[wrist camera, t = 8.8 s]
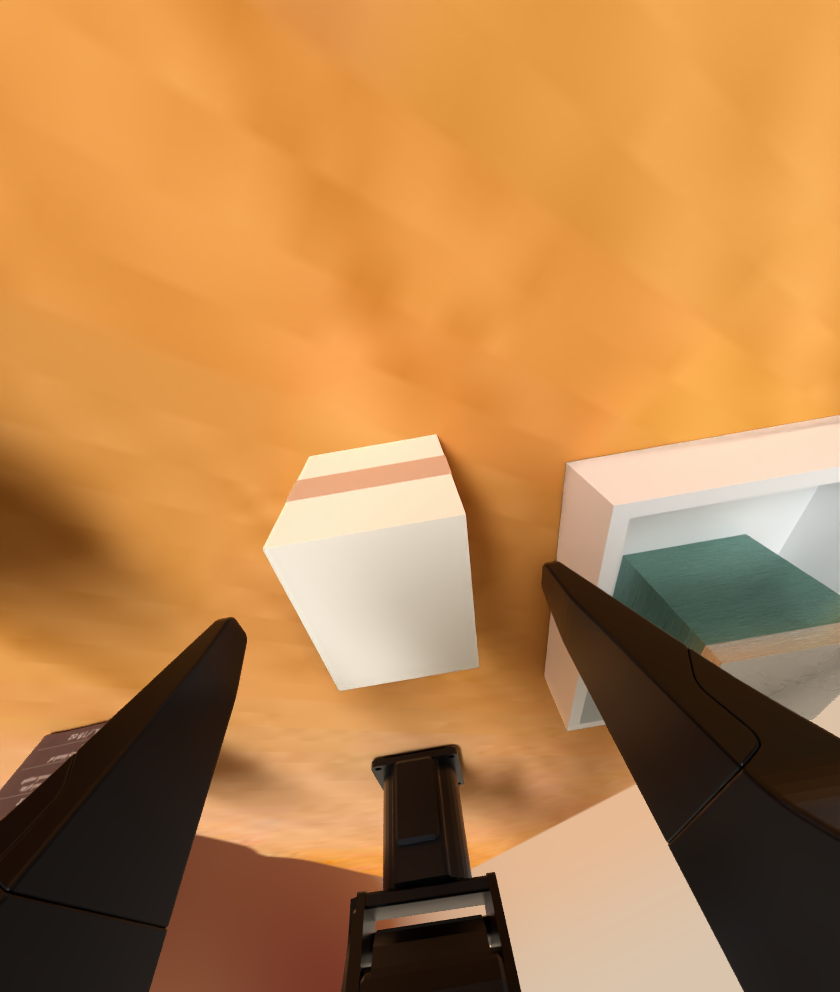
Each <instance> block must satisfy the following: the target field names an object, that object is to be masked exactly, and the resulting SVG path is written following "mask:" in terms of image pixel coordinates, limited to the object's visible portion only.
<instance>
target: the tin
mask: <svg viewBox="0 0 840 992" xmlns="http://www.w3.org/2000/svg"><path fill="white" fill-rule="evenodd" d="M613 597H614V598H615V599H617V600H618V601H620V602H621V603H623V604H624V605H626V606H627V607H629V608H630V609H632V610H633V611H635V612H636V613H638V614H639V615H641V616H642V617H644V618H645V619H647V620H648V621H650V622H651V623H653V624H654V625H656V626H657V627H659V628H660V629H662V630H664V631H665V632H667V633H668V634H670V635H671V636H673V637H674V638H676V639H677V640H679V641H680V642H682V643H683V644H685V645H686V646H687V648H691V649H692V650H694V651H695V652H697V653H698V654H700V655H701V656H703V657H705V658H706V659H708V660H709V661H711V662H712V663H714V664H715V665H717V666H718V667H720V668H722V669H723V670H725V671H726V672H728V673H729V674H731V675H733V676H734V677H736V678H737V679H739V680H741V681H742V682H744V683H746V684H747V685H749V686H751V687H752V688H754V689H756V690H757V691H759V692H761V693H763V694H764V695H766V696H768V697H769V698H771V699H773V700H774V701H776V702H778V703H780V704H781V705H783V706H785V707H787V708H788V709H790V710H792V711H794V712H795V713H797V714H799V715H800V716H802V717H804V718H806V719H807V720H812V719H814V718H815V717H816V716H817V715H818V714H819V713H820V712H822V711H823V710H824V709H825V708H826V707H827V706H828V705H829V704H830V703H831V702H832V701H833V700H834V699H835V698H836V697H837V696H838V695H840V595H839V594H838V593H836V592H835V591H833V590H831V589H830V588H828V587H827V586H825V585H824V584H822V583H821V582H819V581H818V580H816V579H814V578H813V577H811V576H810V575H808V574H807V573H805V572H804V571H802V570H801V569H799V568H798V567H796V566H794V565H793V564H791V563H790V562H788V561H787V560H785V559H784V558H782V557H781V556H779V555H778V554H776V553H774V552H773V551H771V550H770V549H768V548H767V547H765V546H764V545H762V544H761V543H759V542H757V541H756V540H754V539H753V538H751V537H750V536H748V535H747V534H743V535H737V536H732V537H726V538H720V539H714V540H709V541H703V542H697V543H691V544H685V545H680V546H674V547H668V548H662V549H657V550H651V551H645V552H639V553H634V554H628V555H623V557H622V561H621V565H620V569H619V573H618V577H617V581H616V585H615V589H614V593H613Z"/></svg>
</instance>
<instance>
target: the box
mask: <svg viewBox="0 0 840 992" xmlns="http://www.w3.org/2000/svg"><path fill="white" fill-rule="evenodd" d="M106 723H107V722H105V723H101V724H97V725H92V726H88V727H84V728H80V729H75V730H71V731H66V732H61V733H55V734H49V735H46V736H45V737H44V738H43V739H42V741H41V742H40V743H39V744H38V745H37V746H36V748H35V749H34V750H33V751H32V753H31V754H30V755H29V756H28V757H27V758H26V760H25V761H24V762H23V764H22V765H21V766H20V767H19V768H18V769H17V771H16V772H15V773H14V774H13V775H12V777H11V778H10V779H9V780H8V781H7V783H6V784H5V785H4V786H3V788H2V789H1V790H0V820H1V819H2V818H3V817H5V816H6V815H7V814H8V813H9V812H10V811H11V810H12V809H14V808H15V807H16V806H17V805H18V804H19V803H20V802H22V801H23V800H24V799H25V798H26V797H27V796H28V795H29V794H30V793H32V792H33V791H34V790H35V789H36V788H37V787H38V786H39V785H40V784H41V783H42V782H44V781H45V780H46V779H47V778H48V777H49V776H50V775H51V774H52V773H53V772H54V771H56V770H57V769H58V768H59V767H60V766H61V765H62V764H63V763H64V762H65V761H66V760H67V759H68V758H69V757H70V756H72V755H73V754H75V753H76V752H77V750H78V749H79V748H80V747H81V746H82V745H83V744H85V743H86V742H87V741H88V740H89V739H90V738H91V737H92V736H93V735H94V734H95V733H96V732H97V731H98V730H100V729H101V728H102V727H103V726H104V725H105V724H106Z"/></svg>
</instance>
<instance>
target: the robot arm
mask: <svg viewBox="0 0 840 992" xmlns="http://www.w3.org/2000/svg"><path fill="white" fill-rule="evenodd" d="M541 584H542V589H543V592H544V595H545V597H546V600H547V603H548V605H549V608H550V610H551V613H552V615H553V618H554V621H555V623H556V626H557V628H558V631H559V633H560V636H561V638H562V641H563V643H564V645H565V647H566V649H567V651H568V653H569V655H570V657H571V659H572V661H573V662H574V664H575V666H576V668H577V670H578V672H579V674H580V676H581V678H582V680H583V682H584V684H585V686H586V688H587V689H588V691H589V693H590V695H591V697H592V699H593V701H594V703H595V705H596V707H597V709H598V711H599V713H600V715H601V716H602V718H603V720H604V722H605V724H606V726H607V728H608V730H609V732H610V734H611V736H612V738H613V740H614V742H615V743H616V745H617V747H618V749H619V751H620V753H621V755H622V757H623V759H624V761H625V763H626V765H627V767H628V768H629V770H630V772H631V774H632V776H633V778H634V780H635V782H636V784H637V786H638V788H639V790H640V792H641V794H642V795H643V797H644V799H645V801H646V803H647V805H648V807H649V809H650V811H651V813H652V815H653V816H654V819H655V820H656V822H657V824H658V826H659V828H660V830H661V832H662V834H663V836H664V838H665V840H666V841H667V842H668V846H669V848H670V850H671V852H672V853H673V856H674V857H675V860H676V861H677V863H678V865H679V867H680V869H681V871H682V873H683V875H684V877H685V879H686V881H687V883H688V884H689V887H690V888H691V890H692V892H693V894H694V896H695V898H696V900H697V902H698V904H699V906H700V908H701V910H702V912H703V913H704V915H705V917H706V919H707V921H708V923H709V925H710V927H711V929H712V931H713V933H714V935H715V937H716V939H717V940H718V942H719V944H720V946H721V948H722V950H723V952H724V954H725V956H726V958H727V960H728V962H729V964H730V966H731V968H732V969H733V971H734V973H735V975H736V977H737V979H738V981H739V983H740V985H741V987H742V989H743V991H744V992H840V738H839V737H837V736H835V735H833V734H832V733H830V732H828V731H826V730H825V729H823V728H821V727H819V726H818V725H816V724H814V723H812V722H811V721H809V720H807V719H806V718H804V717H802V716H800V715H799V714H797V713H795V712H794V711H792V710H790V709H788V708H787V707H785V706H783V705H781V704H780V703H778V702H776V701H774V700H773V699H771V698H769V697H768V696H766V695H764V694H763V693H761V692H759V691H757V690H756V689H754V688H752V687H751V686H749V685H747V684H746V683H744V682H742V681H741V680H739V679H737V678H736V677H734V676H733V675H731V674H729V673H728V672H726V671H725V670H723V669H722V668H720V667H718V666H717V665H715V664H714V663H712V662H711V661H709V660H708V659H706V658H705V657H703V656H701V655H700V654H698V653H697V652H695V651H694V650H692V649H691V648H687V646H686V645H685V644H683V643H682V642H680V641H679V640H677V639H676V638H674V637H673V636H671V635H670V634H668V633H667V632H665V631H664V630H662V629H660V628H659V627H657V626H656V625H654V624H653V623H651V622H650V621H648V620H647V619H645V618H644V617H642V616H641V615H639V614H638V613H636V612H635V611H633V610H632V609H630V608H629V607H627V606H626V605H624V604H623V603H621V602H620V601H618V600H617V599H615V598H614V597H612V596H611V595H609V594H608V593H606V592H605V591H603V590H602V589H600V588H599V587H597V586H596V585H594V584H593V583H591V582H589V581H588V580H586V579H585V578H583V577H582V576H580V575H579V574H577V573H576V572H574V571H573V570H571V569H570V568H568V567H567V566H565V565H564V564H562V563H561V562H559V561H553V562H547V563H544V564H543V568H542V582H541ZM246 644H247V636H246V633H245V632H244V630H243V629H242V627H241V626H240V625H239V623H238V622H237V620H236V619H235V618H233V617H228V618H222V619H219V620H217V621H215V622H214V623H213V624H212V625H211V626H210V627H209V628H208V629H207V630H205V631H204V632H203V633H202V634H201V635H200V636H199V637H198V638H197V639H196V640H195V641H194V642H193V643H192V644H190V645H189V646H188V647H187V648H186V649H185V650H184V651H183V652H182V653H181V654H180V655H179V656H178V657H177V658H176V659H174V660H173V661H172V662H171V663H170V664H169V665H168V666H167V667H166V668H165V669H164V670H163V671H162V672H161V673H159V674H158V675H157V676H156V677H155V678H154V679H153V680H152V681H151V682H150V683H149V684H148V685H147V686H146V687H144V688H143V689H142V690H141V691H140V692H139V693H138V694H137V695H136V696H135V697H134V698H133V699H132V700H131V701H129V702H128V703H127V704H126V705H125V706H124V707H123V708H122V709H121V710H120V711H119V712H118V713H117V714H116V715H114V716H113V717H112V718H111V719H110V720H109V721H108V722H107V723H106V724H105V725H104V726H103V727H102V728H101V729H100V730H98V731H97V732H96V733H95V734H94V735H93V736H92V737H91V738H90V739H89V740H88V741H87V742H86V743H85V744H83V745H82V746H81V747H80V748H79V749H78V750H77V752H76V753H75V754H73V755H72V756H70V757H69V758H68V759H67V760H66V761H65V762H64V763H63V764H62V765H61V766H60V767H59V768H58V769H57V770H56V771H54V772H53V773H52V774H51V775H50V776H49V777H48V778H47V779H46V780H45V781H44V782H42V783H41V784H40V785H39V786H38V787H37V788H36V789H35V790H34V791H33V792H32V793H30V794H29V795H28V796H27V797H26V798H25V799H24V800H23V801H22V802H20V803H19V804H18V805H17V806H16V807H15V808H14V809H12V810H11V811H10V812H9V813H8V814H7V815H6V816H5V817H3V818H2V819H1V820H0V992H149V990H150V986H151V983H152V979H153V976H154V973H155V969H156V966H157V963H158V959H159V956H160V952H161V949H162V946H163V942H164V939H165V936H166V932H167V926H168V925H169V921H170V918H171V915H172V911H173V908H174V905H175V901H176V898H177V894H178V891H179V887H180V884H181V881H182V877H183V874H184V871H185V867H186V864H187V861H188V857H189V854H190V851H191V847H192V844H193V840H194V837H195V834H196V830H197V827H198V824H199V820H200V817H201V814H202V810H203V807H204V804H205V800H206V797H207V793H208V790H209V787H210V783H211V780H212V777H213V773H214V770H215V767H216V763H217V760H218V756H219V753H220V750H221V746H222V743H223V740H224V736H225V733H226V729H227V726H228V723H229V719H230V716H231V713H232V709H233V706H234V702H235V698H236V694H237V690H238V685H239V680H240V675H241V670H242V665H243V659H244V654H245V649H246ZM372 772H373V773H374V775H375V777H376V779H377V780H378V782H379V784H380V785H381V787H382V789H383V790H384V824H383V891H377V892H370V893H367V891H361V892H358V893H357V897H356V898H353V899H351V904H350V921H349V935H348V946H347V954H346V961H345V968H344V975H343V982H342V989H341V992H521V989H520V984H519V979H518V975H517V970H516V966H515V961H514V957H513V952H512V947H511V943H510V938H509V934H508V929H507V925H506V920H505V916H504V911H503V906H502V902H501V897H500V893H499V888H498V884H497V879H496V875H495V872H492V873H486V876H480V877H473V878H472V876H471V869H470V862H469V855H468V848H467V841H466V835H465V828H464V821H463V814H462V807H461V800H460V794H459V787H458V786H460V785H462V784H464V780H463V775H462V770H461V765H460V760H459V755H458V751H457V748H455V747H449V748H443V749H437V750H431V751H425V752H420V753H414V754H408V755H402V756H396V757H390V758H384V759H378V760H374V761H373V762H372ZM478 905H485V909H486V915H485V916H482V915H475V916H469V917H462V918H456V919H449V920H443V921H436V922H429V923H423V924H416V925H410V926H403V927H397V928H390V929H383V930H378V931H377V932H375V921H378V920H384V919H391V918H398V917H405V916H412V915H418V914H425V913H431V912H438V911H445V910H451V909H458V908H465V907H471V906H478ZM489 945H491V946H492V947H491V948H490V947H489Z"/></svg>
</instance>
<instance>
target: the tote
mask: <svg viewBox="0 0 840 992" xmlns="http://www.w3.org/2000/svg"><path fill="white" fill-rule="evenodd" d="M743 534H747V535H748V536H750V537H751V538H753V539H754V540H756V541H757V542H759V543H761V544H762V545H764V546H765V547H767V548H768V549H770V550H771V551H773V552H774V553H776V554H778V555H779V556H781V557H782V558H784V559H785V560H787V561H788V562H790V563H791V564H793V565H794V566H796V567H798V568H799V569H801V570H802V571H804V572H805V573H807V574H808V575H810V576H811V577H813V578H814V579H816V580H818V581H819V582H821V583H822V584H824V585H825V586H827V587H828V588H830V589H831V590H833V591H835V592H836V593H838V594H839V595H840V415H837V416H831V417H825V418H819V419H814V420H808V421H802V422H797V423H791V424H785V425H779V426H774V427H768V428H762V429H756V430H751V431H745V432H739V433H733V434H728V435H722V436H716V437H711V438H705V439H699V440H693V441H688V442H682V443H676V444H670V445H665V446H659V447H653V448H648V449H642V450H636V451H630V452H625V453H619V454H613V455H607V456H602V457H596V458H590V459H584V460H579V461H573V462H567V463H566V470H565V479H564V489H563V499H562V508H561V518H560V528H559V537H558V547H557V557H556V561H559V562H561V563H562V564H564V565H565V566H567V567H568V568H570V569H571V570H573V571H574V572H576V573H577V574H579V575H580V576H582V577H583V578H585V579H586V580H588V581H589V582H591V583H593V584H594V585H596V586H597V587H599V588H600V589H602V590H603V591H605V592H606V593H608V594H609V595H611V596H612V597H613V593H614V589H615V585H616V581H617V577H618V573H619V569H620V565H621V561H622V557H623V555H628V554H634V553H639V552H645V551H651V550H657V549H662V548H668V547H674V546H680V545H685V544H691V543H697V542H703V541H709V540H714V539H720V538H726V537H732V536H737V535H743ZM544 677H545V680H546V682H547V684H548V687H549V689H550V692H551V694H552V696H553V699H554V701H555V704H556V706H557V708H558V711H559V713H560V716H561V718H562V720H563V723H564V725H565V728H566V730H567V731H571V730H577V729H583V728H589V727H595V726H601V725H606V724H605V722H604V720H603V718H602V716H601V715H600V713H599V711H598V709H597V707H596V705H595V703H594V701H593V699H592V697H591V695H590V693H589V691H588V689H587V688H586V686H585V684H584V682H583V680H582V678H581V676H580V674H579V672H578V670H577V668H576V666H575V664H574V662H573V661H572V659H571V657H570V655H569V653H568V651H567V649H566V647H565V645H564V643H563V641H562V638H561V636H560V633H559V631H558V628H557V626H556V623H555V621H554V618H553V615H552V613H551V615H550V624H549V634H548V644H547V653H546V663H545V673H544Z"/></svg>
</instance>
